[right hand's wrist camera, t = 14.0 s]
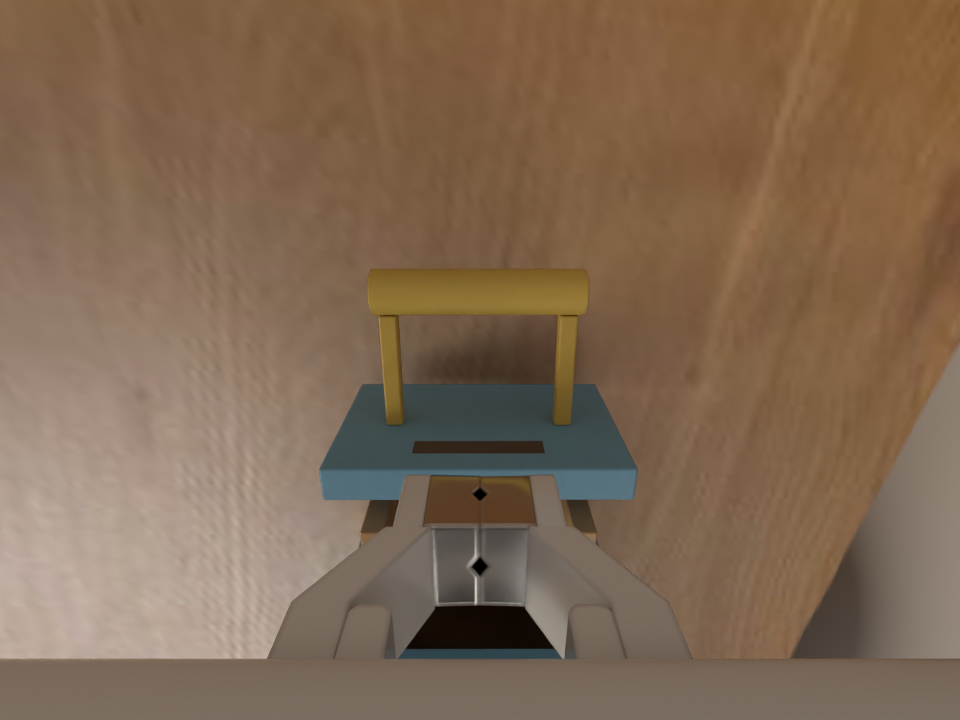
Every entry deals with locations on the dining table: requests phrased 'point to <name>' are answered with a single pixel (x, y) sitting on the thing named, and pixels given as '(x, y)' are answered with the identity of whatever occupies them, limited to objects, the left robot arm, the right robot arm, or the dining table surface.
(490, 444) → the drawer
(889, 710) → the right robot arm
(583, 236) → the dining table surface
